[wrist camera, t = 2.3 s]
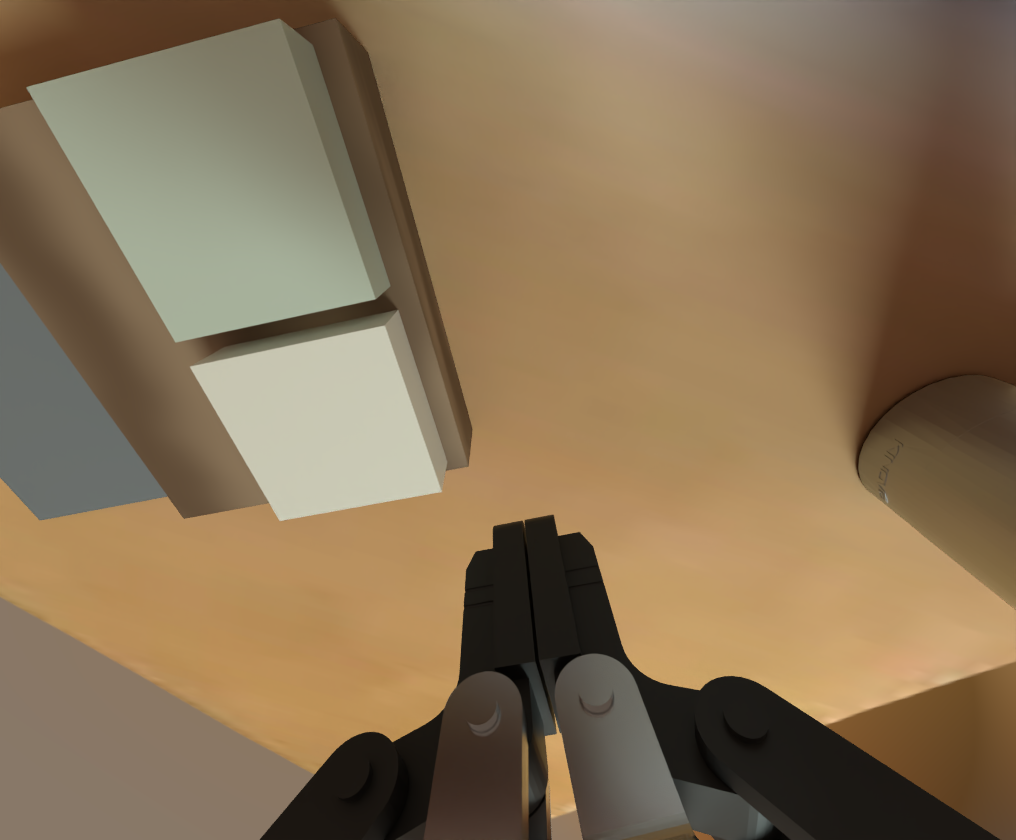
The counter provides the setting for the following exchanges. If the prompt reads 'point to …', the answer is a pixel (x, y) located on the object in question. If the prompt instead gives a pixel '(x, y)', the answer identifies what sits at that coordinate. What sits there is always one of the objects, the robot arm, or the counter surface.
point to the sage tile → (222, 179)
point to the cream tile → (328, 415)
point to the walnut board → (166, 365)
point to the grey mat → (57, 425)
